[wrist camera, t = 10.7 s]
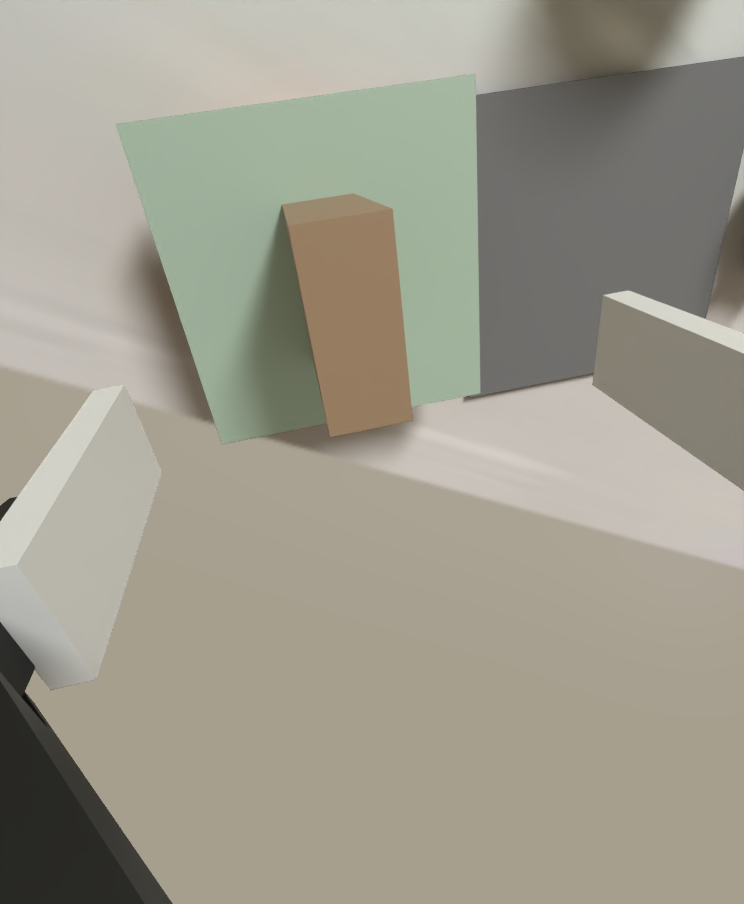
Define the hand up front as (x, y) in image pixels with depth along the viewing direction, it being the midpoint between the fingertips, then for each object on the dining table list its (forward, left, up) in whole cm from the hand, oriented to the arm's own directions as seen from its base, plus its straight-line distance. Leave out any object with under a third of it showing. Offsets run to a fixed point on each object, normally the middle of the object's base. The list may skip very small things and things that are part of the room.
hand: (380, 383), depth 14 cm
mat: (+2, +19, -21) cm, 29 cm away
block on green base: (0, 0, -15) cm, 15 cm away
